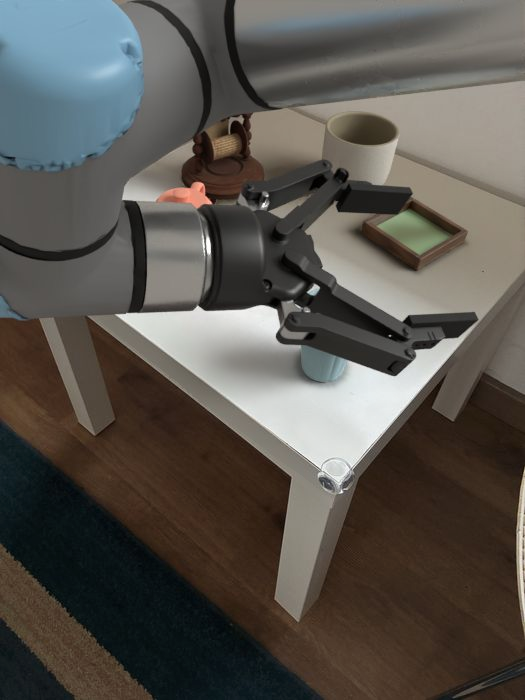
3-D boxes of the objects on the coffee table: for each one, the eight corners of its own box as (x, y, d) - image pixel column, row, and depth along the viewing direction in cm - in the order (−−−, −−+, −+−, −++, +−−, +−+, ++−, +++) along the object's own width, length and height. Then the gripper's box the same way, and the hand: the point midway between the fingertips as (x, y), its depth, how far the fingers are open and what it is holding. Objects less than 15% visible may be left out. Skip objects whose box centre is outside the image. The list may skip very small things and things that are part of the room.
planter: (398, 197, 97) (414, 139, 89) (337, 210, 93) (347, 151, 85) (364, 162, 104) (375, 106, 96) (306, 173, 101) (313, 116, 93)
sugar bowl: (132, 263, 82) (122, 205, 74) (171, 212, 91) (165, 156, 83) (207, 282, 80) (205, 225, 72) (239, 229, 89) (240, 173, 81)
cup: (313, 334, 74) (323, 277, 66) (362, 361, 71) (378, 305, 63) (281, 369, 70) (288, 312, 62) (332, 399, 67) (345, 343, 59)
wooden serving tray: (464, 242, 89) (468, 231, 87) (416, 271, 84) (420, 259, 82) (408, 207, 95) (411, 196, 93) (360, 232, 90) (363, 221, 88)
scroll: (236, 155, 104) (237, 43, 89) (279, 192, 96) (288, 76, 81) (167, 175, 98) (156, 59, 83) (207, 216, 91) (203, 96, 75)
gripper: (158, 173, 47) (363, 187, 55) (222, 443, 36) (467, 408, 44) (174, 96, 41) (402, 125, 49) (257, 392, 29) (533, 363, 38)
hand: (433, 259), depth 47 cm, fingers open, 13 cm apart
